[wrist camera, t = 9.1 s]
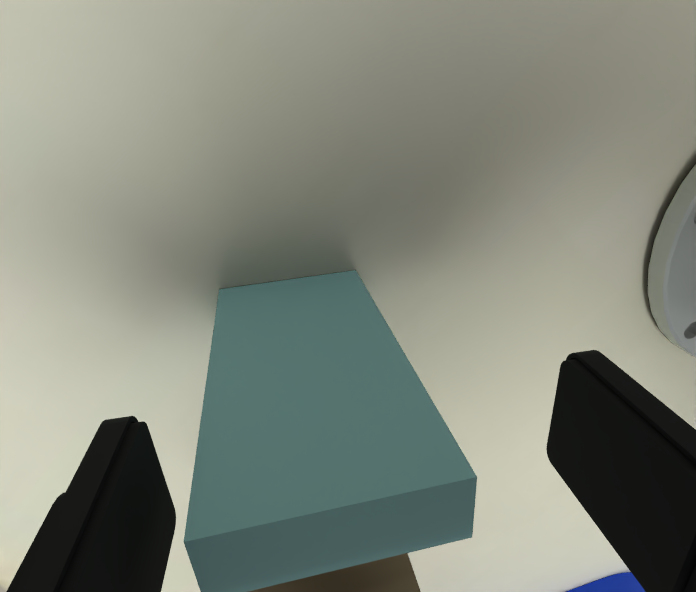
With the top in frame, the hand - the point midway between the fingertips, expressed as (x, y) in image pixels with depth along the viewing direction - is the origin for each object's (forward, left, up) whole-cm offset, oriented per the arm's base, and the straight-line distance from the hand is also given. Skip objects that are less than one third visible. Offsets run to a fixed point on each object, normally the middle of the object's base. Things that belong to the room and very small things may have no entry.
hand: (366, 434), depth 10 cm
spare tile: (+1, 0, -8) cm, 8 cm away
